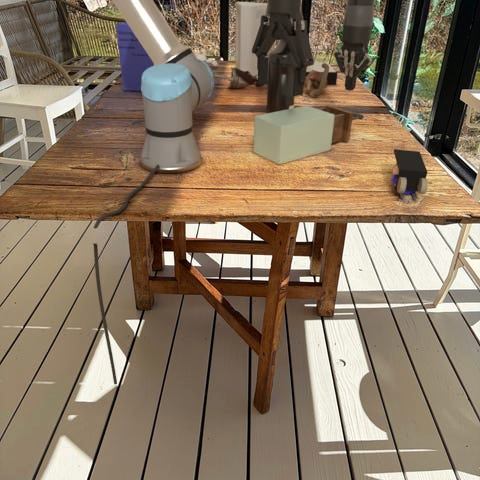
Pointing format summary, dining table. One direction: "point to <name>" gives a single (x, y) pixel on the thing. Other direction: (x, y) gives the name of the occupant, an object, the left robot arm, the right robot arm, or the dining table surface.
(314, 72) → the anatomical model
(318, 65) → the disc drive
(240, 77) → the figurine
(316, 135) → the pale green rectangular box
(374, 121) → the dining table surface
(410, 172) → the figurine character
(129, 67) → the cereal box
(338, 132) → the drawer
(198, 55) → the toy
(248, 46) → the tall white carton
